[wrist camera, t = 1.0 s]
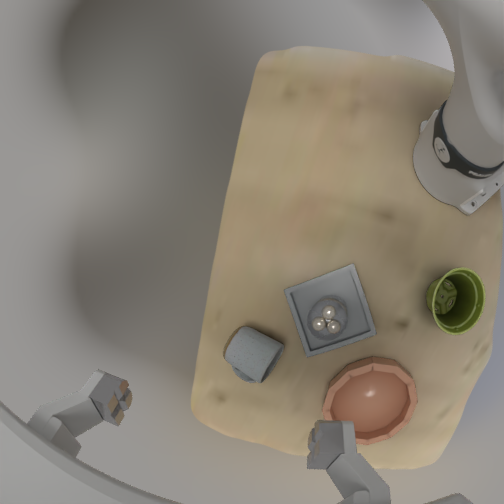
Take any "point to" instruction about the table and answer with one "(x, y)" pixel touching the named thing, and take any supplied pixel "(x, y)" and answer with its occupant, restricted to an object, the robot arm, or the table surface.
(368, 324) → the parts tray
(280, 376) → the table surface
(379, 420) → the terracotta bowl
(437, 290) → the plant pot
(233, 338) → the ceramic mug
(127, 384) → the robot arm
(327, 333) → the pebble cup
